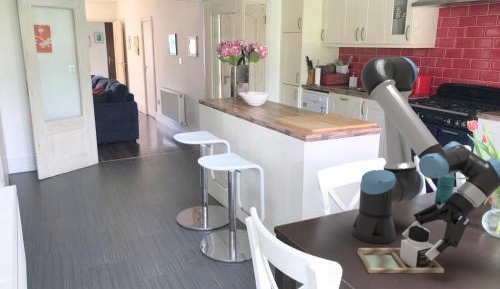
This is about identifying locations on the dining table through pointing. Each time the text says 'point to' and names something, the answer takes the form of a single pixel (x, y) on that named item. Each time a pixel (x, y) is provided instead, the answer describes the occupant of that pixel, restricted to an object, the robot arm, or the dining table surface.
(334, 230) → the dining table surface
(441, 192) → the beverage bottle
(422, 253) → the medicine bottle
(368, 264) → the wooden divided tray
